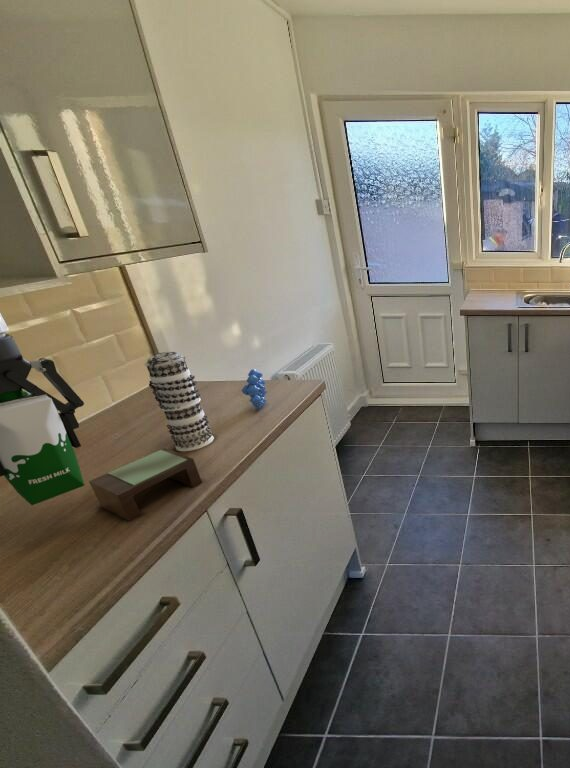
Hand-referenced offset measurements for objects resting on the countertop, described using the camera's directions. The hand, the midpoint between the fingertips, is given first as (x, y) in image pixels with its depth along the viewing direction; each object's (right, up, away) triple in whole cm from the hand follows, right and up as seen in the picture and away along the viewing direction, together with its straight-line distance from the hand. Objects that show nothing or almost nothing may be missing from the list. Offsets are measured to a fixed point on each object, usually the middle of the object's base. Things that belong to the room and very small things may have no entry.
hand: (39, 458), depth 74 cm
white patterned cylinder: (0, -3, +37) cm, 37 cm away
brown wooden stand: (+6, -11, +17) cm, 21 cm away
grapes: (+4, +6, +57) cm, 58 cm away
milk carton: (0, -6, +2) cm, 7 cm away
